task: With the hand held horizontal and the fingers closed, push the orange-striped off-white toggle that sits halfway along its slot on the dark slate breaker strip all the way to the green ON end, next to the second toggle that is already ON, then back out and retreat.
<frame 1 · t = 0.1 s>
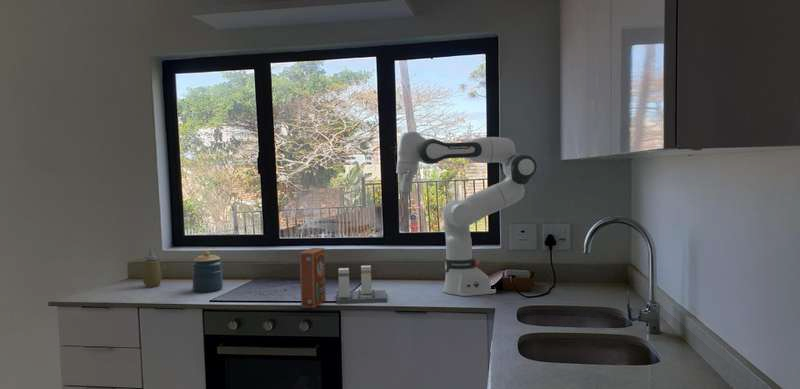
hand: (404, 202, 206), 39 cm above the worktop, tool pointing down, fingers open, 8 cm apart
canister: (208, 290, 221), on the worktop
breaker toggle: (366, 279, 201), point 7 cm above the worktop, slide at 3.5 cm
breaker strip: (361, 298, 200), on the worktop
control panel: (313, 304, 192), on the worktop
squeeze bottle: (152, 286, 230), on the worktop
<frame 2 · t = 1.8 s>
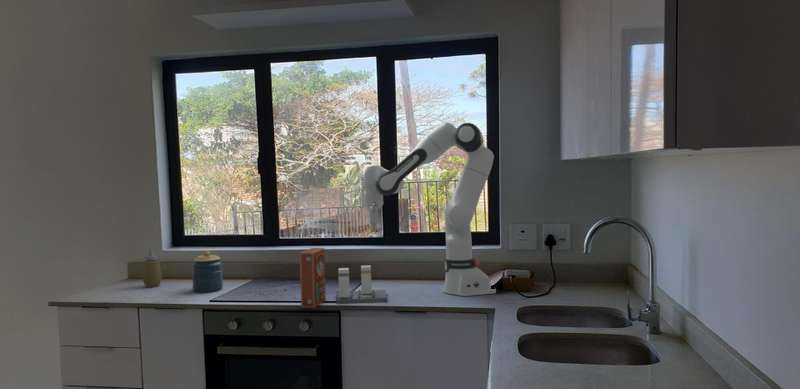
hand: (374, 232, 219), 25 cm above the worktop, tool pointing down, fingers closed
nothing on the worktop moved.
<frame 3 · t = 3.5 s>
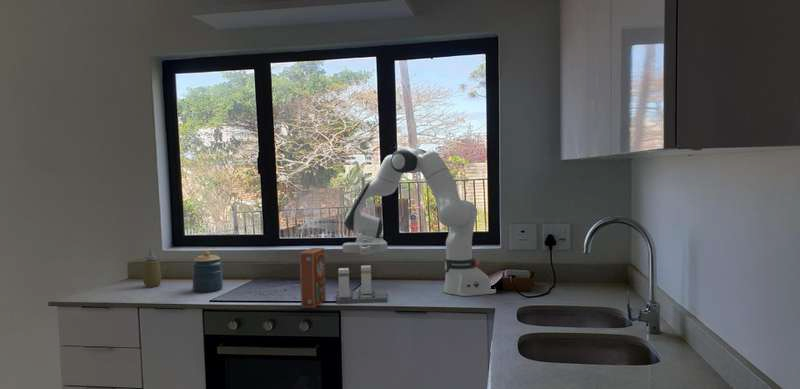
hand: (365, 249, 213), 18 cm above the worktop, tool horizontal, fingers closed
nothing on the worktop moved.
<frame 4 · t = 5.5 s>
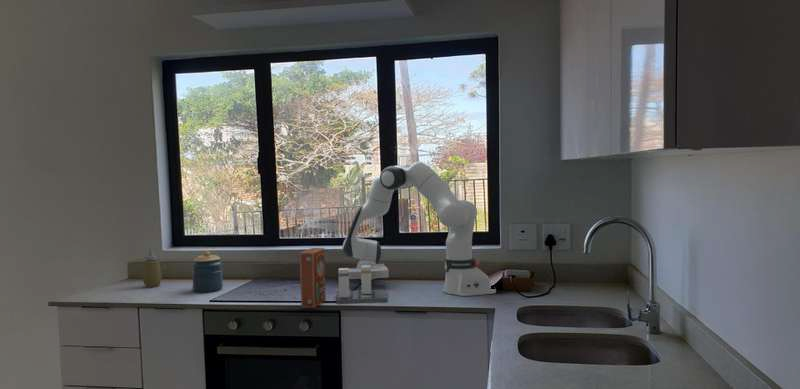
hand: (366, 276, 211), 6 cm above the worktop, tool horizontal, fingers closed
nothing on the worktop moved.
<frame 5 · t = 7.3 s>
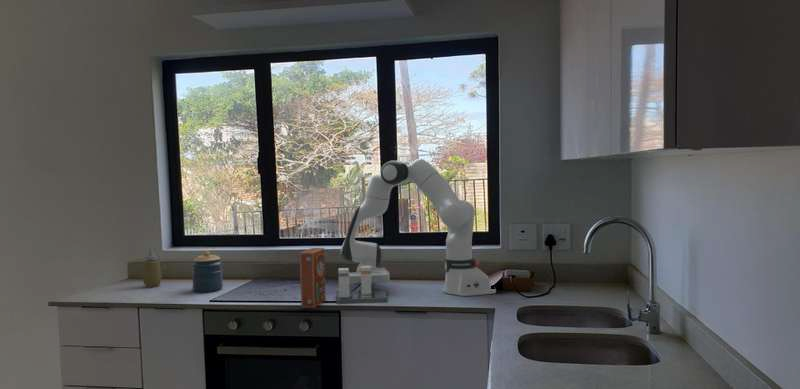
hand: (366, 281, 202), 6 cm above the worktop, tool horizontal, fingers closed, pressing on breaker toggle
breaker toggle: (366, 280, 200), point 7 cm above the worktop, slide at 4.5 cm, touching gripper
everything else where it was.
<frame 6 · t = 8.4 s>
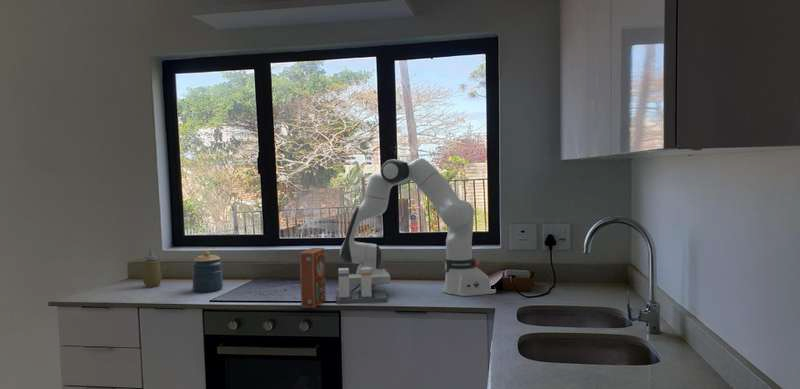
hand: (366, 283, 198), 6 cm above the worktop, tool horizontal, fingers closed, pressing on breaker toggle
breaker toggle: (366, 281, 196), point 7 cm above the worktop, slide at 8.0 cm, touching gripper
everything else where it was.
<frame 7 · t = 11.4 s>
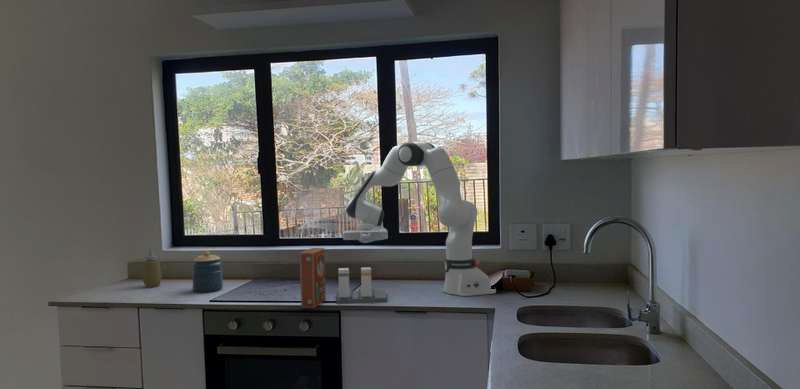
hand: (365, 236, 213), 24 cm above the worktop, tool horizontal, fingers closed
breaker toggle: (366, 281, 196), point 7 cm above the worktop, slide at 8.0 cm
everything else where it was.
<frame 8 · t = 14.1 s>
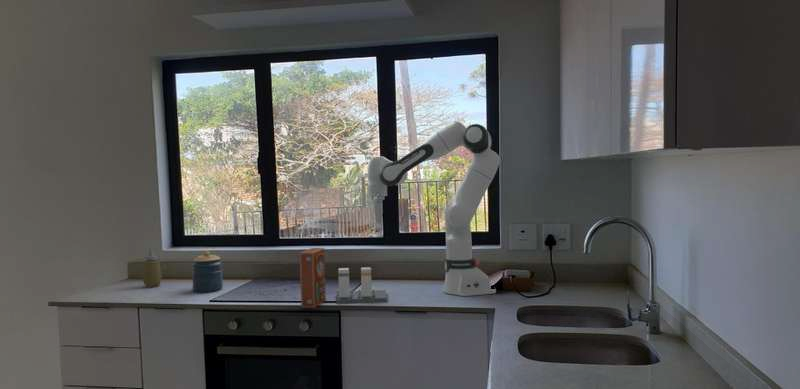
hand: (378, 222, 221), 29 cm above the worktop, tool pointing down, fingers closed
nothing on the worktop moved.
at the end: breaker toggle slide at 8.0 cm; breaker toggle 0.5 cm from the target spot, point 7.5 cm above the worktop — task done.
